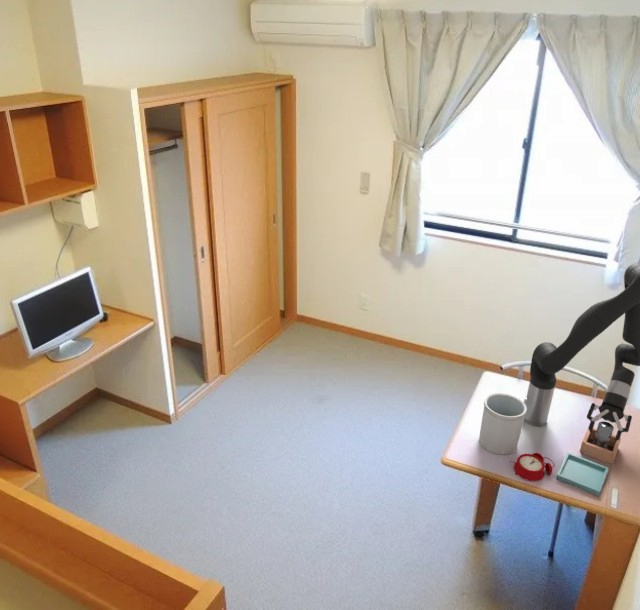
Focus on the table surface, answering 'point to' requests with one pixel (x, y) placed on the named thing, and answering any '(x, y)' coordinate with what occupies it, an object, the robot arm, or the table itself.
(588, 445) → the light orange open box
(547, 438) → the table surface
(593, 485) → the teal tray
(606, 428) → the canister
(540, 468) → the alarm clock
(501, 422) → the utensil holder
